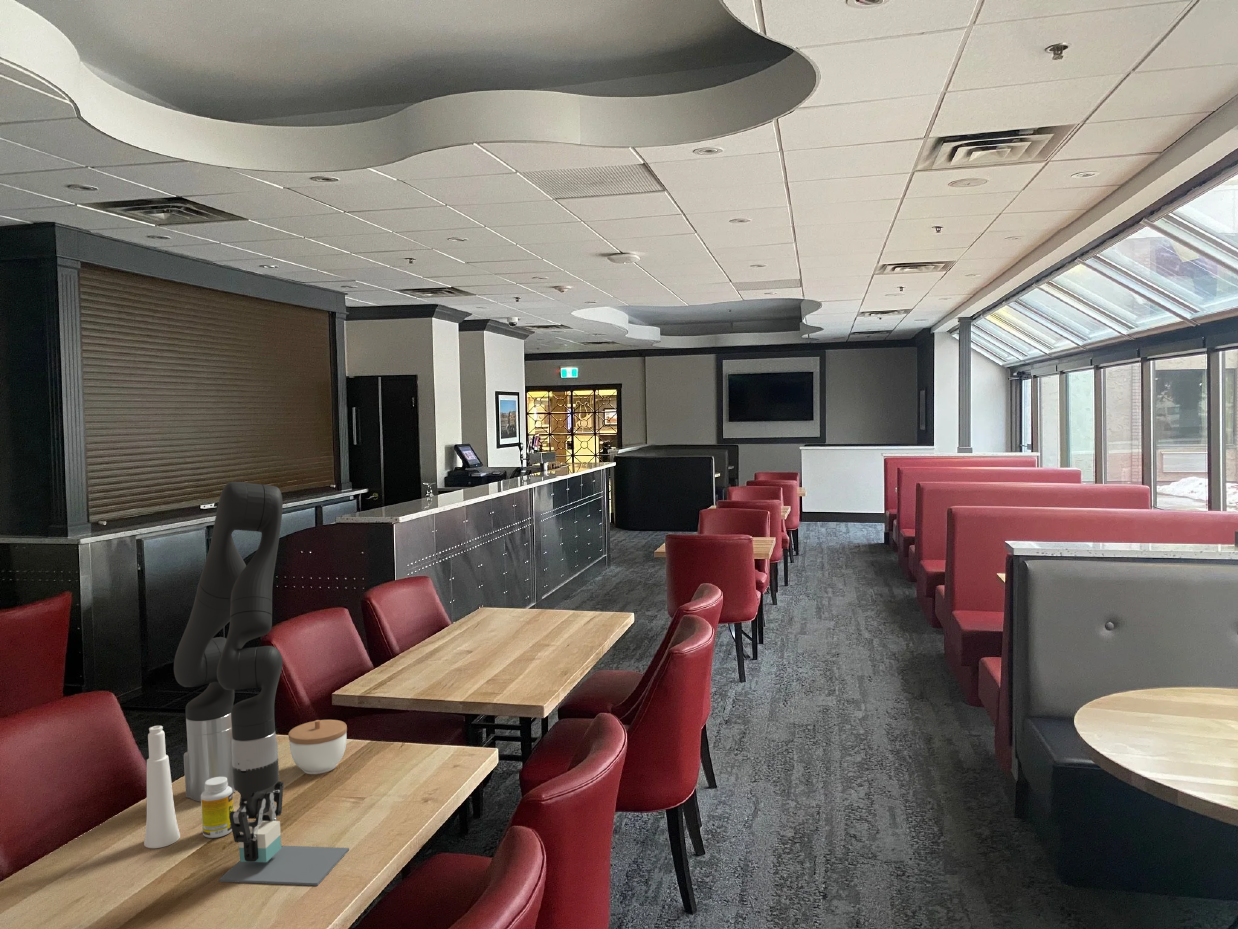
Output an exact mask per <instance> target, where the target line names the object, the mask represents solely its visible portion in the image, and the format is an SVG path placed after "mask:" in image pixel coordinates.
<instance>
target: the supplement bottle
mask: <svg viewBox="0 0 1238 929" xmlns="http://www.w3.org/2000/svg"><path fill="white" fill-rule="evenodd" d="M200 806H201V807H200V808H201V810H200V811H201V824H202V825H201V826H202V834H203V836H204V837H205V838H210V839H217V838H220V837H224V836H227V835H228V834H230V833H231V832H232V828H231V823H230V819H229V814H230V812H232V811H233V812H234V796H233V792H232V788H231V787H229V786H228V782H227V778H226V777H215V778H211V779H209V780H207V781H206V782H205V791H204V792H203V793H202V794H201V801H200Z"/></svg>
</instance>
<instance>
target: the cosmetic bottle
mask: <svg viewBox="0 0 1238 929" xmlns="http://www.w3.org/2000/svg"><path fill="white" fill-rule="evenodd" d="M163 727H164V726H162V725H154V726H150V727H149V728H148V730H149V733H148V734H147V740H148V758H147V759H146V824H145V825H146V826H145V835H144V843H143V845H144V847H146V848H147V849H159V848H165V847H168V846H170V845H172V844H175V843H176V842H177V841H178V840H179V839H181V833H180V830H179V825H178V821H177V816H176V810H175V803H174V794H173V787H172V785H173V784H172V776H171V767H170V758H169V755H168V754H166V753H167V752H166V738H165V737H166V735H165V731H164V730H163V729H164V728H163Z"/></svg>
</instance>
